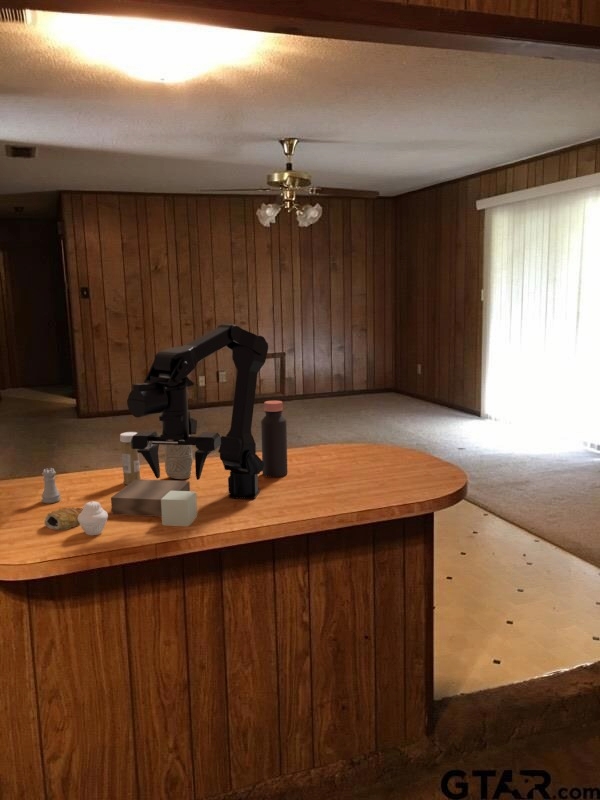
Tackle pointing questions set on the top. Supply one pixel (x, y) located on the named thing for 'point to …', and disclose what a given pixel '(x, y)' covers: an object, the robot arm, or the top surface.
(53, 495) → the rook chess piece
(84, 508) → the muffin
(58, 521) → the pastry
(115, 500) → the walnut base
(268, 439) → the vinegar
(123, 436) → the sprinkles bottle
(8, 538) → the top surface
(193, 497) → the sage cube
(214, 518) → the top surface
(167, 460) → the carving
